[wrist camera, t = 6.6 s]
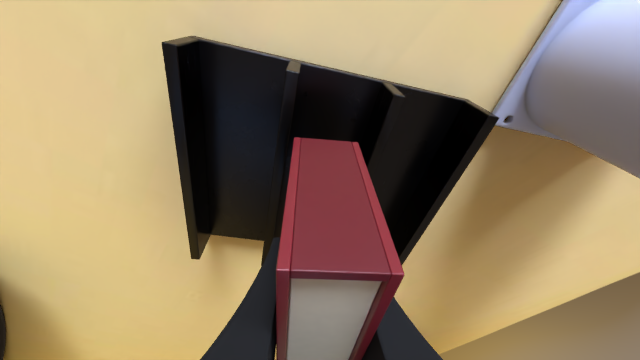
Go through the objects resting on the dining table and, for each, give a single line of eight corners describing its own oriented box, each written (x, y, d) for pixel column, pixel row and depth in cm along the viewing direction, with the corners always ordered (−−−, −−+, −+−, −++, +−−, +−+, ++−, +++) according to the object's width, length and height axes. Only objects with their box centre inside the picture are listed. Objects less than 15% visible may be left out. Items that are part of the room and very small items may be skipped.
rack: (468, 99, 14) (500, 117, 12) (383, 250, 22) (392, 280, 20) (191, 35, 12) (160, 41, 10) (205, 228, 20) (190, 259, 17)
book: (358, 142, 11) (405, 274, 5) (330, 276, 16) (338, 404, 11) (294, 136, 10) (275, 270, 5) (288, 274, 16) (276, 405, 11)
